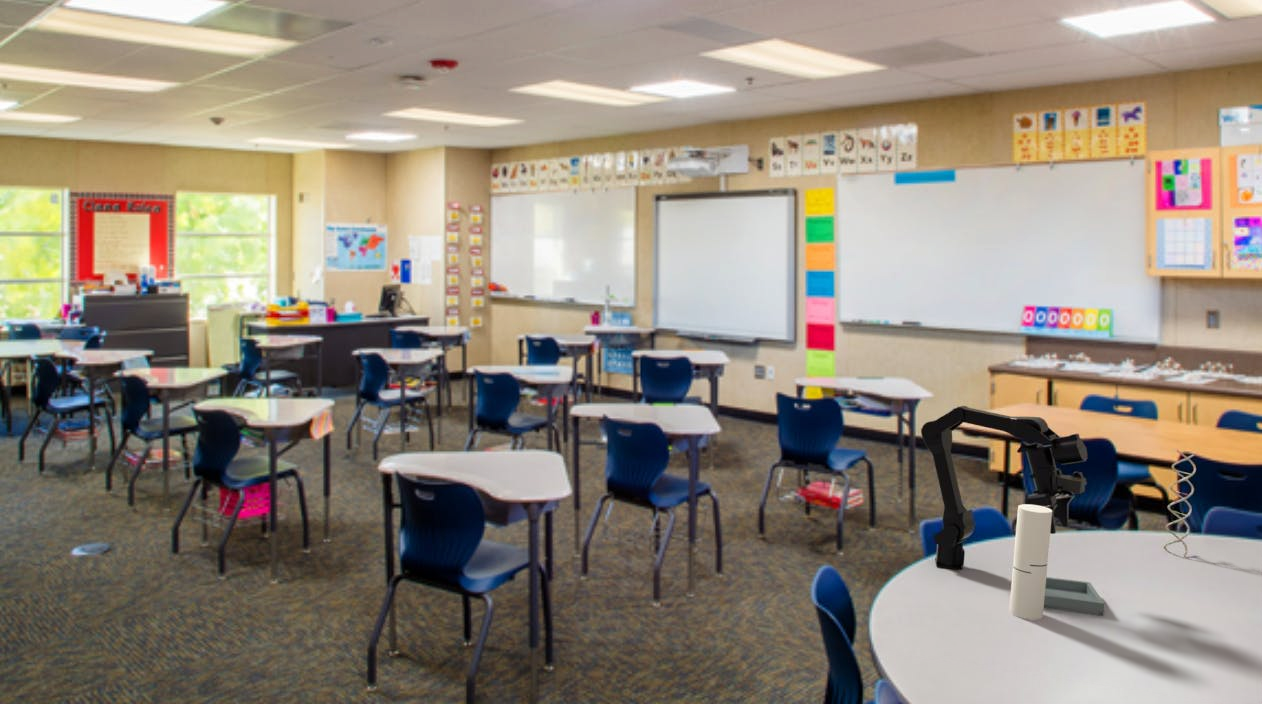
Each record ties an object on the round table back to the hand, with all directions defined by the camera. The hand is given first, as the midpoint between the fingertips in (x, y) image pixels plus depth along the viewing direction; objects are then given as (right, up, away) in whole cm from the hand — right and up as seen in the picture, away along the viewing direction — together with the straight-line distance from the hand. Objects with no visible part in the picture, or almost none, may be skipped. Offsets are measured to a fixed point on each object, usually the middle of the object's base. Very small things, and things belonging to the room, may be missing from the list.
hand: (1059, 530), depth 219 cm
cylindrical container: (-14, -17, -13) cm, 26 cm away
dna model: (+52, -15, +39) cm, 67 cm away
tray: (-1, -16, -3) cm, 17 cm away
